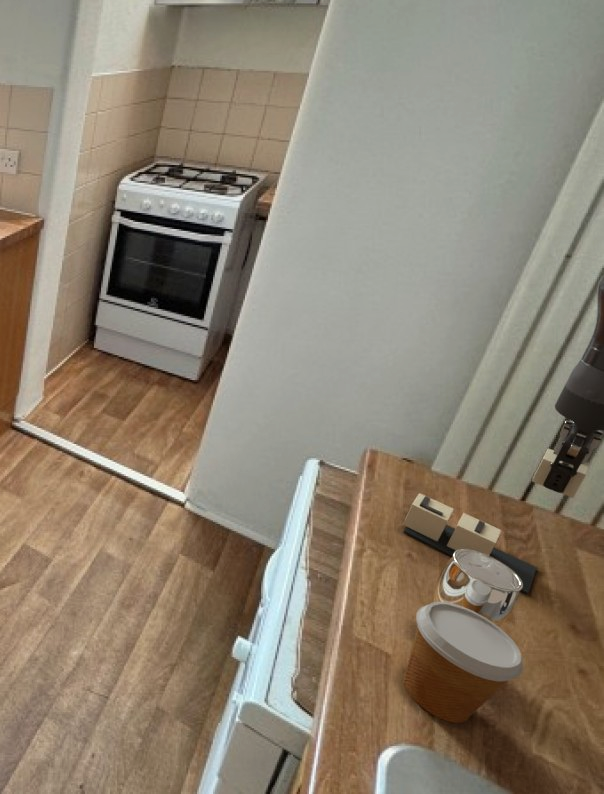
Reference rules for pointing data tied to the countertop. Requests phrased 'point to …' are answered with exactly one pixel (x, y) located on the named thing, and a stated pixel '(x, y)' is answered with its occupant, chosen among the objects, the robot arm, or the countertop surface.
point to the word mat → (517, 565)
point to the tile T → (550, 457)
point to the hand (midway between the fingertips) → (555, 482)
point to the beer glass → (479, 585)
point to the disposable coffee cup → (458, 661)
